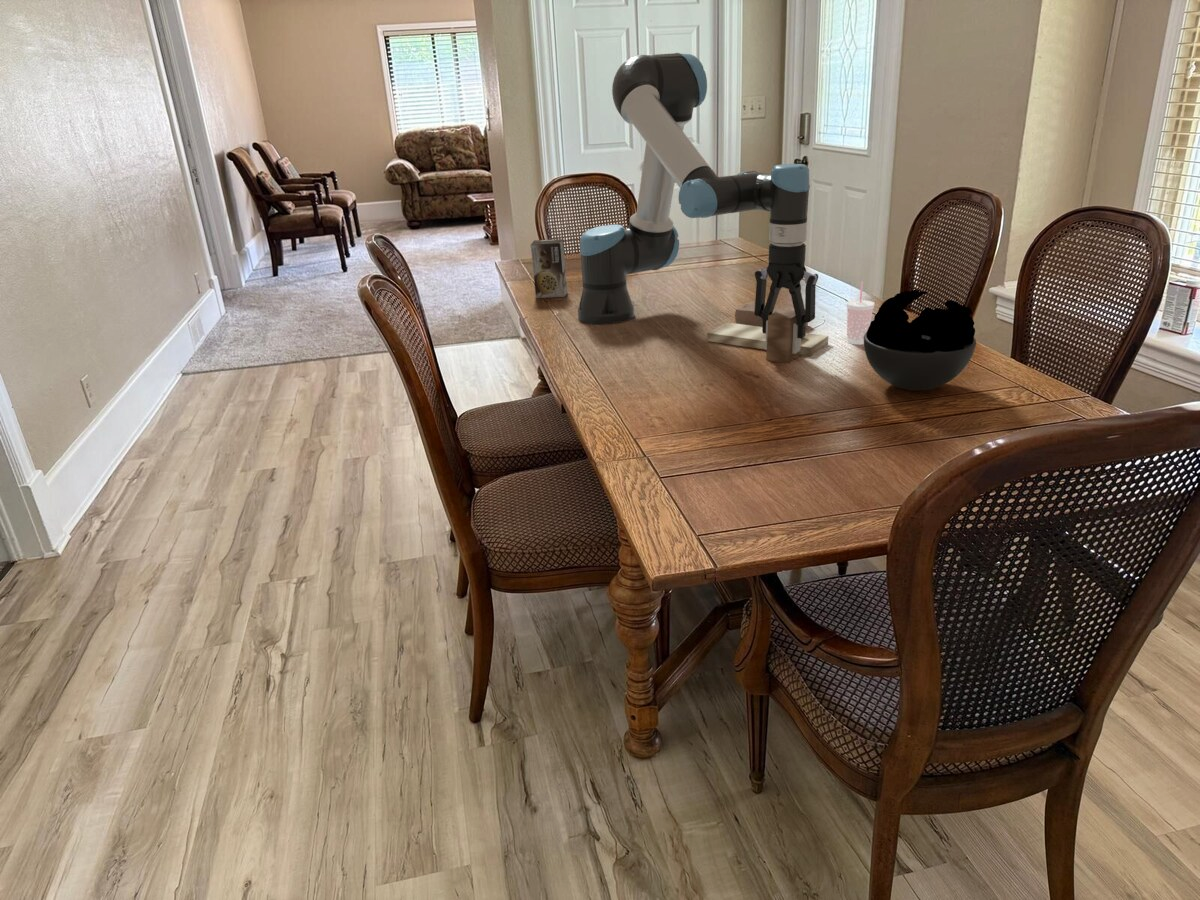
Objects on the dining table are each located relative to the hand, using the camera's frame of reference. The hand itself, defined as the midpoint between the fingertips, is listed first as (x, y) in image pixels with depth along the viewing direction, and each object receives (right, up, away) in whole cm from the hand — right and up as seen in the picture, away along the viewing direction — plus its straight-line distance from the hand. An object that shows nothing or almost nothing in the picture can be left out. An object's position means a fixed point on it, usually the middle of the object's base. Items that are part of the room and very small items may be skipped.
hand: (782, 349), depth 176 cm
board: (-1, +3, +11) cm, 12 cm away
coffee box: (-55, +24, +66) cm, 89 cm away
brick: (+3, +9, +25) cm, 26 cm away
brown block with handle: (+2, -1, +3) cm, 4 cm away
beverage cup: (+19, +3, +9) cm, 21 cm away
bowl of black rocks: (+21, -10, -20) cm, 31 cm away
